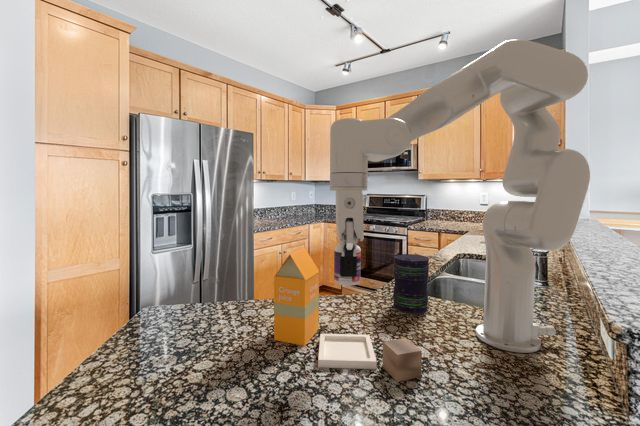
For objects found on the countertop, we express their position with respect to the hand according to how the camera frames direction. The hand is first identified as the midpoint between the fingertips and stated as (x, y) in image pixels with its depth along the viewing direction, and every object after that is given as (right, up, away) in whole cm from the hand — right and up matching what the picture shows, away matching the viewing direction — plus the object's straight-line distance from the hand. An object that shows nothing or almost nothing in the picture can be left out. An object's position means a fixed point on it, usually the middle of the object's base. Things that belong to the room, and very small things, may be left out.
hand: (347, 271), depth 62 cm
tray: (0, -17, +1) cm, 17 cm away
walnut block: (+10, -18, -5) cm, 21 cm away
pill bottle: (0, -2, 0) cm, 2 cm away
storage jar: (+21, -16, +27) cm, 38 cm away
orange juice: (-11, -17, +9) cm, 22 cm away
